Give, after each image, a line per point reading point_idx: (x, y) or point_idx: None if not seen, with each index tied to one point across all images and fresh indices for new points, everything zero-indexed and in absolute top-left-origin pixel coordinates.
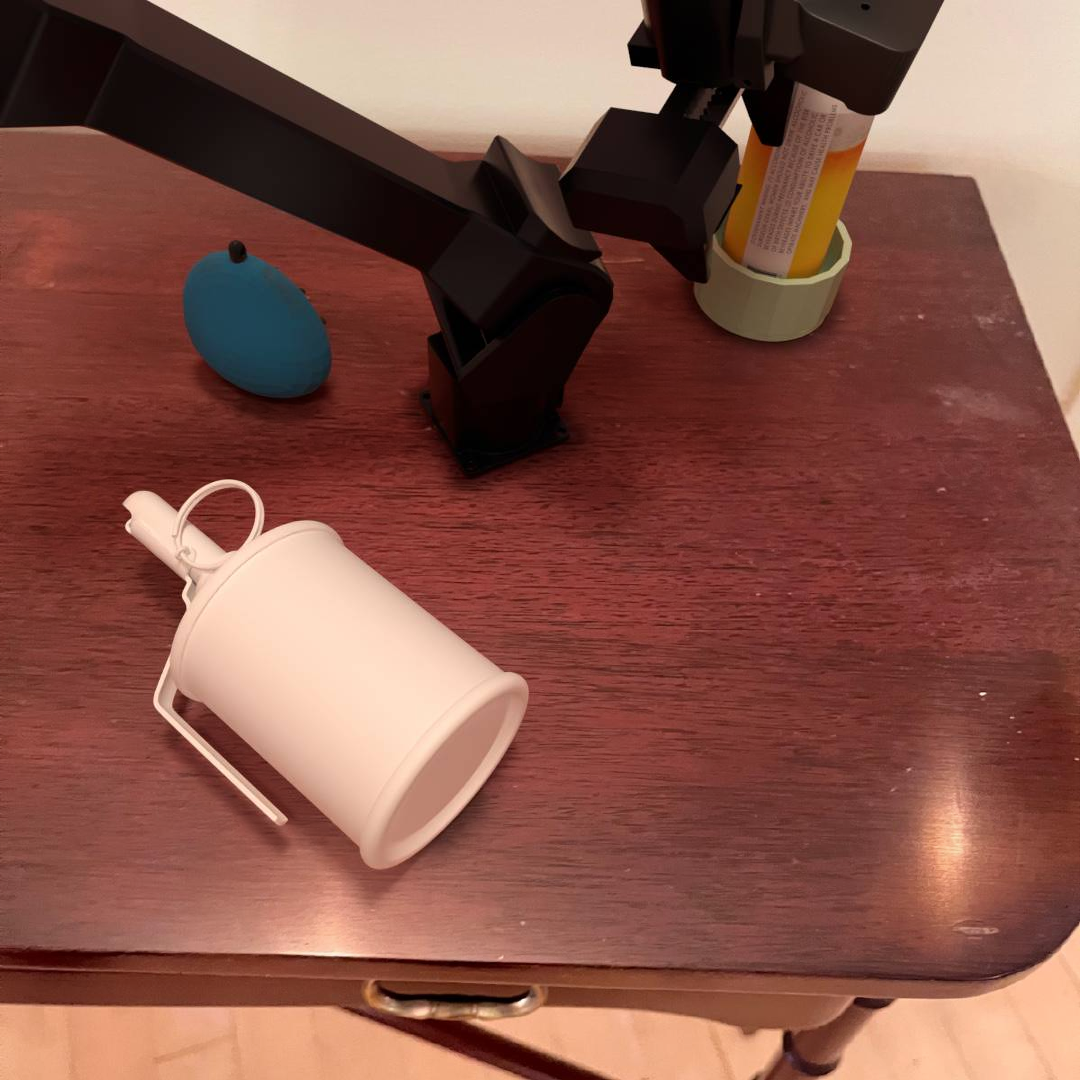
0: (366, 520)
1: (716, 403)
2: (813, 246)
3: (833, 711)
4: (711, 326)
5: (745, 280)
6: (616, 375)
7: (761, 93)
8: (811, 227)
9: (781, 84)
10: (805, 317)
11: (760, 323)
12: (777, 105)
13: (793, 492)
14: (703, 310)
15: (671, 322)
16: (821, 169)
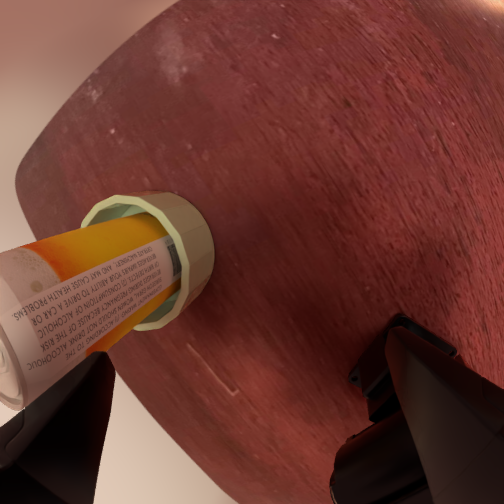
0: (491, 372)
1: (299, 227)
2: (131, 230)
3: (487, 59)
4: (218, 269)
5: (191, 269)
6: (317, 313)
7: (85, 439)
8: (123, 242)
9: (58, 433)
10: (176, 202)
11: (203, 234)
12: (79, 409)
13: (354, 129)
14: (206, 283)
15: (234, 300)
16: (79, 273)
